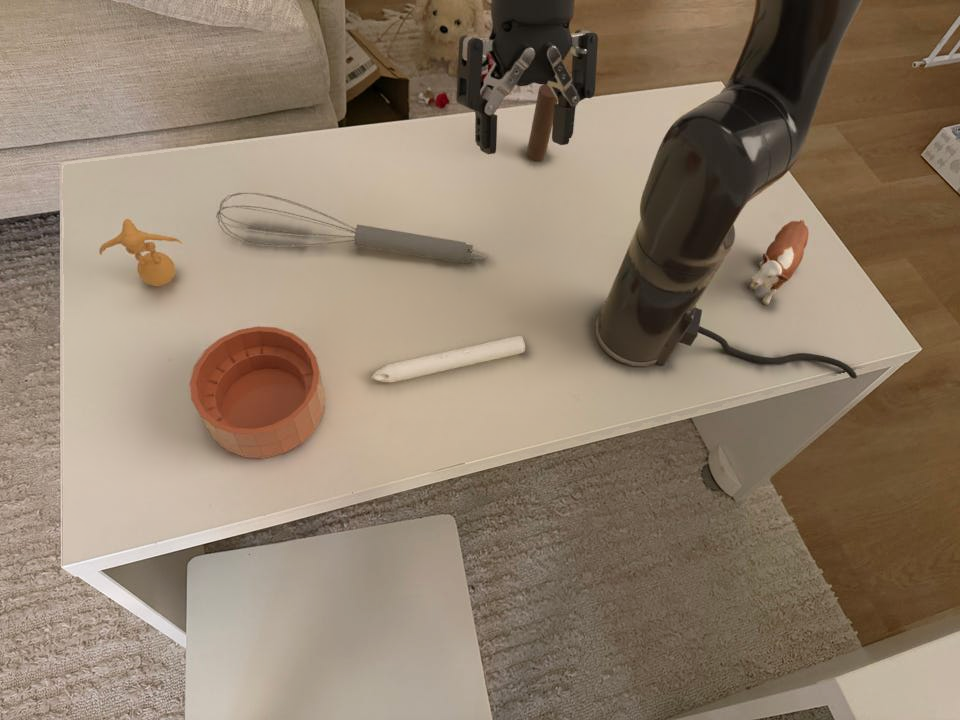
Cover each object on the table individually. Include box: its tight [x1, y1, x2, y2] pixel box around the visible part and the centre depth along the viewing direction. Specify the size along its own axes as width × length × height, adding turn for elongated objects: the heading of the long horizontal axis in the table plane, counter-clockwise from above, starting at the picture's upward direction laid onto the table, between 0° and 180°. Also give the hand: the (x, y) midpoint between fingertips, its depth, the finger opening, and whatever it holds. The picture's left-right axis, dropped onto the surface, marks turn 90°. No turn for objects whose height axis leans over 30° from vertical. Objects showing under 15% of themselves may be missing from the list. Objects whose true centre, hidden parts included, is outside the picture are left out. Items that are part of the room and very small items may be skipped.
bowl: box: [189, 325, 326, 459], centre depth 69 cm, size 12×12×6 cm
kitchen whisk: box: [215, 192, 489, 264], centre depth 82 cm, size 6×34×6 cm, turn 86°
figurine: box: [98, 218, 183, 287], centre depth 74 cm, size 8×6×12 cm
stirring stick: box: [526, 84, 558, 163], centre depth 93 cm, size 3×3×11 cm
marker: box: [371, 335, 526, 383], centre depth 76 cm, size 18×2×2 cm, turn 108°
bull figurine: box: [748, 219, 809, 306], centre depth 85 cm, size 4×13×8 cm, turn 143°
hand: (524, 147), depth 67 cm, fingers open, 8 cm apart
